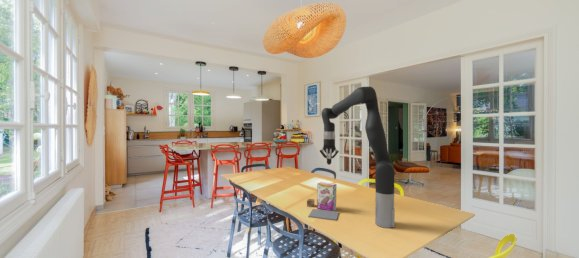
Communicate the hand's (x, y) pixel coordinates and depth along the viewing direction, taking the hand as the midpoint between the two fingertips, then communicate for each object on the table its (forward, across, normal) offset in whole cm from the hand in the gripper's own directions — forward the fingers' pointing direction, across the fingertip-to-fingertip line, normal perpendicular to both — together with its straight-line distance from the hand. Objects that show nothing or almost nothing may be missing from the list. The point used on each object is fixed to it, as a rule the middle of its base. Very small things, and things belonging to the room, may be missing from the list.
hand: (329, 164), depth 158 cm
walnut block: (+27, -11, -6) cm, 30 cm away
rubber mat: (+27, 0, -19) cm, 33 cm away
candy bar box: (+27, 0, -9) cm, 29 cm away
